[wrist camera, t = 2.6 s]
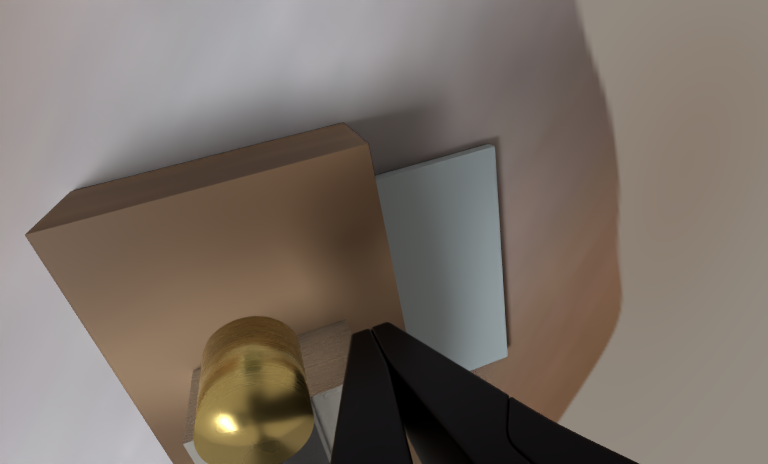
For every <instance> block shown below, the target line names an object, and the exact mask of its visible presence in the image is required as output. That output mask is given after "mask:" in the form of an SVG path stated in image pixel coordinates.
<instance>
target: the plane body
mask: <svg viewBox="0 0 768 464" xmlns="http://www.w3.org/2000/svg"><path fill="white" fill-rule="evenodd" d="M25 236H26V237H27V239H28V241H29V242H30V244H31V245H32V247H33V248H34V250H35V251H36V253H37V254H38V256H39V258H40V259H41V261H42V262H43V264H44V265H45V267H46V268H47V270H48V271H49V273H50V274H51V276H52V278H53V279H54V281H55V282H56V284H57V285H58V287H59V288H60V290H61V291H62V293H63V294H64V296H65V298H66V299H67V301H68V302H69V304H70V305H71V307H72V308H73V310H74V311H75V313H76V315H77V316H78V318H79V319H80V321H81V322H82V324H83V325H84V327H85V328H86V330H87V331H88V333H89V335H90V336H91V338H92V339H93V341H94V342H95V344H96V345H97V347H98V348H99V350H100V351H101V353H102V355H103V356H104V358H105V359H106V361H107V362H108V364H109V365H110V367H111V368H112V370H113V372H114V373H115V375H116V376H117V378H118V379H119V381H120V382H121V384H122V385H123V387H124V388H125V390H126V392H127V393H128V395H129V396H130V398H131V399H132V401H133V402H134V404H135V405H136V407H137V409H138V410H139V412H140V413H141V415H142V416H143V418H144V419H145V421H146V422H147V424H148V425H149V427H150V429H151V430H152V432H153V433H154V435H155V436H156V438H157V439H158V441H159V442H160V444H161V445H162V447H163V449H164V450H165V452H166V453H167V455H168V456H169V458H170V459H171V461H172V462H173V464H195V463H194V462H193V460H192V458H191V457H190V455H189V453H188V452H187V450H186V448H185V447H184V445H183V440H184V433H185V425H186V418H187V410H188V403H189V395H190V388H191V380H192V373H193V370H196V369H199V368H201V362H202V354H203V350H204V347H205V345H206V343H207V341H208V340H209V338H210V337H211V336H212V335H213V334H214V332H216V331H217V330H218V329H219V328H221V327H222V326H224V325H225V324H227V323H229V322H231V321H234V320H236V319H240V318H243V317H250V316H265V317H270V318H274V319H277V320H279V321H282V322H283V323H285V324H286V325H288V326H289V327H290V328H291V329H292V330H293V331H294V332H295V334H296V335H299V334H302V333H304V332H307V331H310V330H313V329H316V328H319V327H322V326H325V325H328V324H331V323H334V322H337V321H340V320H342V319H345V318H346V321H347V324H348V326H349V329H350V332H351V334H353V333H355V332H358V331H361V330H364V329H370V330H371V328H372V327H373V326H376V325H379V324H382V323H384V322H390V323H392V324H394V325H395V326H397V327H398V328H400V329H402V330H403V331H405V332H406V329H405V324H404V319H403V314H402V309H401V304H400V299H399V294H398V289H397V284H396V279H395V274H394V269H393V264H392V259H391V254H390V249H389V244H388V239H387V234H386V229H385V224H384V219H383V214H382V209H381V204H380V199H379V194H378V189H377V184H376V179H375V174H374V169H373V164H372V159H371V154H370V149H369V144H368V143H367V142H366V141H365V140H364V139H362V138H361V137H360V136H359V135H358V134H356V133H355V132H354V131H353V130H352V129H350V128H349V127H348V126H347V125H346V124H345V123H339V124H335V125H331V126H327V127H323V128H319V129H315V130H311V131H308V132H304V133H300V134H296V135H292V136H288V137H284V138H280V139H276V140H272V141H268V142H264V143H260V144H256V145H252V146H248V147H244V148H240V149H236V150H233V151H229V152H225V153H221V154H217V155H213V156H209V157H205V158H201V159H197V160H193V161H189V162H185V163H181V164H177V165H173V166H169V167H165V168H161V169H158V170H154V171H150V172H146V173H142V174H138V175H134V176H130V177H126V178H122V179H118V180H114V181H110V182H106V183H102V184H98V185H94V186H90V187H86V188H83V189H79V190H75V191H71V192H70V193H69V194H68V195H66V196H65V197H64V198H63V199H62V200H61V201H60V202H59V203H58V204H57V205H56V206H55V207H54V208H53V209H52V210H51V211H50V212H49V213H47V214H46V215H45V216H44V217H43V218H42V219H41V220H40V221H39V222H38V223H37V224H36V225H35V226H34V227H33V228H32V229H31V230H30V231H28V232H27V233H26V234H25ZM406 436H407V434H406ZM407 440H408V444H409V448H410V452H411V456H412V460H413V464H422V463H421V461H420V460H419V458H418V456H417V454H416V452H415V450H414V448H413V446H412V444H411V442H410V440H409V438H408V436H407Z"/></svg>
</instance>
